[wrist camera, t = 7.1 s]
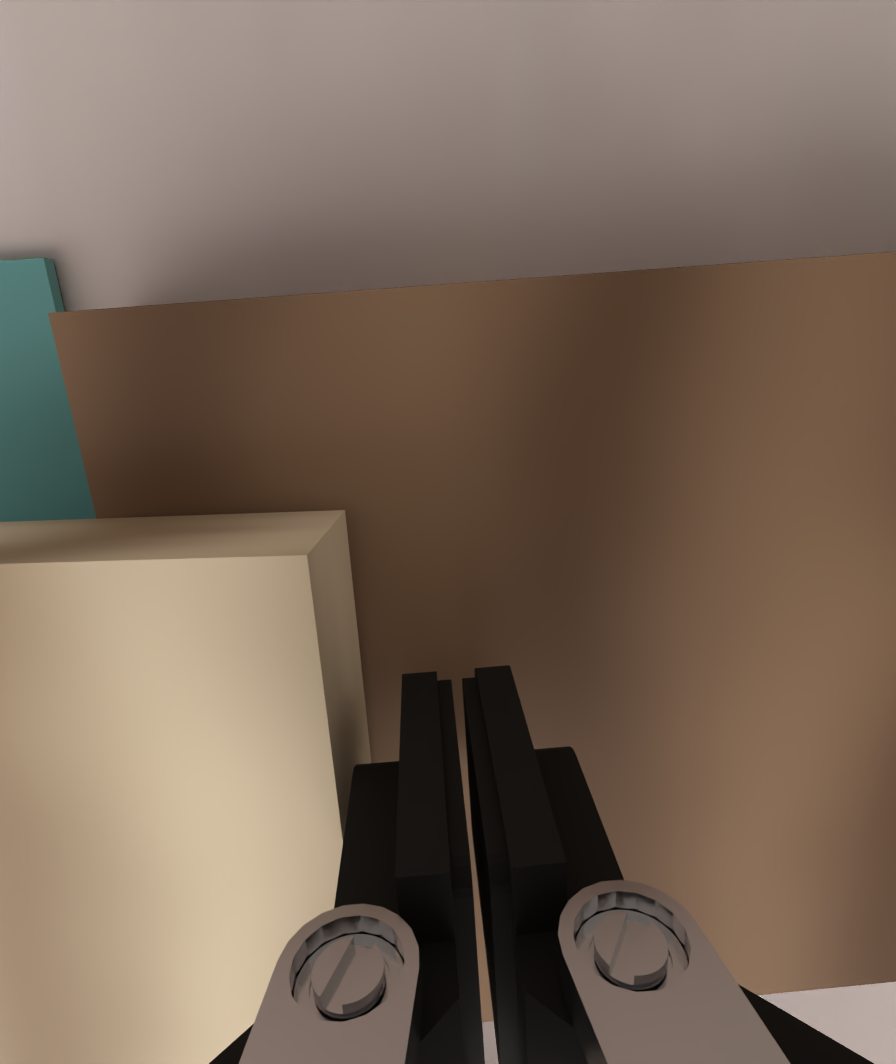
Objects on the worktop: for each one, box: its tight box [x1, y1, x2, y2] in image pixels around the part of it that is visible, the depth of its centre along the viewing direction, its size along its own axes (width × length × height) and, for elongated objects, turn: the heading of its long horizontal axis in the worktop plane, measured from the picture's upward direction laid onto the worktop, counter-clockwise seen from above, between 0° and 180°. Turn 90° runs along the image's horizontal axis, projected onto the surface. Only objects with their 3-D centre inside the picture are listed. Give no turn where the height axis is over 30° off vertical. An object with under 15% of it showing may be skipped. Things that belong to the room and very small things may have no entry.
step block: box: [48, 252, 896, 1022], centre depth 12 cm, size 16×14×2 cm
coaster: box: [0, 510, 371, 1064], centre depth 10 cm, size 9×9×2 cm
